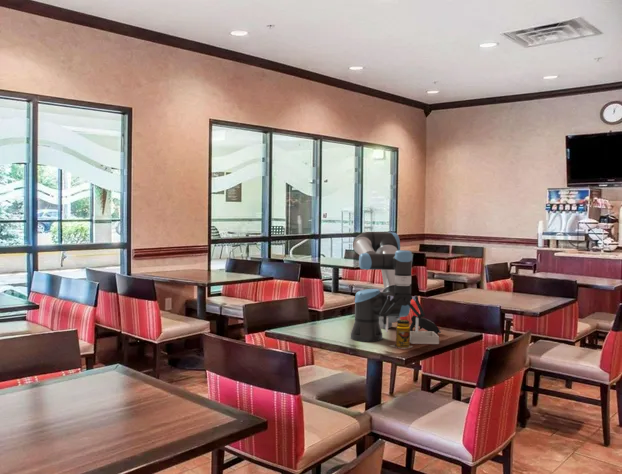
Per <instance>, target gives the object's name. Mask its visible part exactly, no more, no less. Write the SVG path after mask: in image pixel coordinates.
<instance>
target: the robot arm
mask: <svg viewBox="0 0 622 474" xmlns="http://www.w3.org/2000/svg"><path fill="white" fill-rule="evenodd" d="M352 247H353V250H354V252H355V253H356V254H358V255H359V256H358V267H359V269H361V270H367V271H369V270H370V271H371V270H377V271H378V270H379V271H380V272H381V275H382V276H381V278H382V283H383V289H382V292H381V290H380V289H379V288H368V289H360V290H359V291H357V292H356V293H355V297H354V298H355V299H354V304H355V305H354V323H353V325H352V329H351V332H350V339H352V340H354V341H360V342H377V341H382V340H383V332H382V328H380V324H379V317H383V323H384V324H386V329H385V333H388V332H389V328H388V317H400V318H404V317H405V318H406V317H408V316H409V314H410V311H411V310H412V312H413V313H414V314H415V316H417V317H416V324H415V327H416V328H415V330H414V331H415V332H416V333H418V331H419V329H418V328H419V326H418V325H420V324H421V318H425V316H426V313H425V311H424V310H423V308H422V305H421V303H420V301H419V296H418V295H414V296H413V295H412V269H413V268H412V266H413V265H412V264H413V263H412V262H413V252H412V251H411V250H402V249H401V240H400V236H399V235H398V233H396V232H391V231H387V232H386V231H384V232H383V231H365V232H362V233H360V234H358V235H357V236H356V237H355V238H354V239H353V242H352ZM412 300H413V301H414V302H415V304H416V306H417V309H416V308H415V307H414V305H413V304H412ZM418 310H419V311H418ZM419 312H420V313H419Z"/></svg>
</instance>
